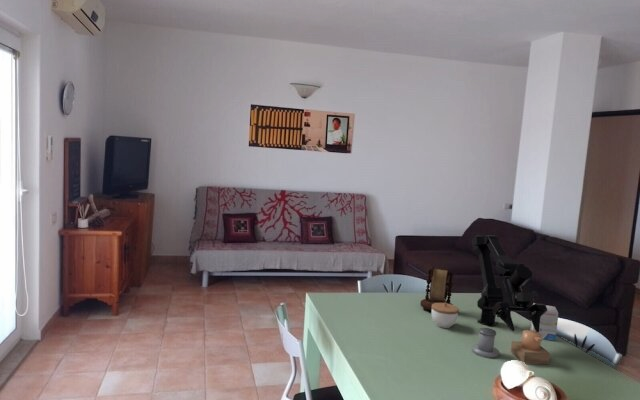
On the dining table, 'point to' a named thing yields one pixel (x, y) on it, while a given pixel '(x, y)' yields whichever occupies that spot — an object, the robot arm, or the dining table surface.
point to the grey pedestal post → (486, 344)
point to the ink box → (548, 324)
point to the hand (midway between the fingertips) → (525, 331)
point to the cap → (531, 340)
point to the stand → (530, 354)
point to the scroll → (437, 288)
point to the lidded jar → (444, 314)
